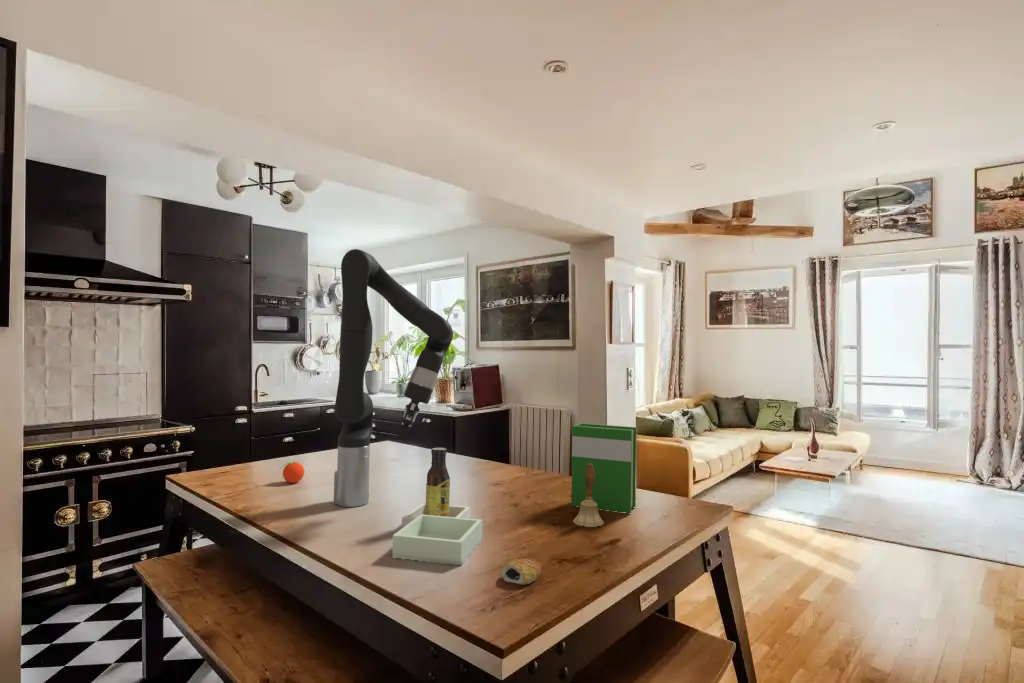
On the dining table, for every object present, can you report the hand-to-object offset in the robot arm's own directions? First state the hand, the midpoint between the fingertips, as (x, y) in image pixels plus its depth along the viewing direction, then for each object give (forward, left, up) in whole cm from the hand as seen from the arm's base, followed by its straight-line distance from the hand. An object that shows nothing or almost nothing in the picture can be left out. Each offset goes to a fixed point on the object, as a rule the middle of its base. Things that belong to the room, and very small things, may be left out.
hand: (401, 438), depth 154 cm
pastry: (+43, -34, -21) cm, 58 cm away
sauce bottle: (+14, -7, -21) cm, 26 cm away
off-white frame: (+14, -7, -21) cm, 26 cm away
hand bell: (+53, +5, -21) cm, 57 cm away
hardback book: (+56, +21, -21) cm, 63 cm away
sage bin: (+21, -24, -21) cm, 38 cm away
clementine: (-49, +20, -21) cm, 57 cm away
